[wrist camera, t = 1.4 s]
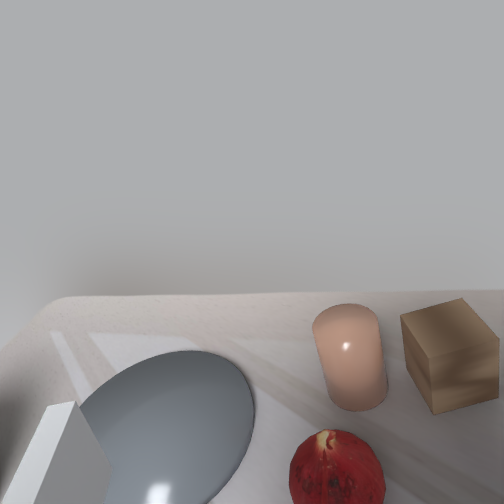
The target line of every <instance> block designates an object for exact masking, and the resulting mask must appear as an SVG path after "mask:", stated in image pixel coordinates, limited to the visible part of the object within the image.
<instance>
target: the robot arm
mask: <svg viewBox="0 0 504 504" xmlns="http://www.w3.org/2000/svg"><path fill="white" fill-rule="evenodd" d="M111 473H112V467H111V465H110V463H109V461H108V459H107V458H106V456H105V454H104V452H103V450H102V448H101V447H100V445H99V443H98V441H97V439H96V437H95V436H94V434H93V432H92V430H91V428H90V426H89V424H88V423H87V421H86V419H85V417H84V415H83V413H82V412H81V410H80V408H79V406H78V404H77V402H76V401H72V402H66V403H61V404H56V405H51V406H47V409H46V411H45V413H44V415H43V417H42V419H41V421H40V423H39V425H38V427H37V430H36V432H35V434H34V436H33V438H32V440H31V442H30V444H29V446H28V448H27V450H26V453H25V455H24V457H23V459H22V461H21V463H20V465H19V467H18V469H17V471H16V474H15V476H14V478H13V480H12V482H11V484H10V486H9V488H8V490H7V492H6V494H5V497H4V499H3V501H2V503H1V504H103V503H104V499H105V495H106V491H107V488H108V484H109V480H110V476H111Z"/></svg>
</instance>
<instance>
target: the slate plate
mask: <svg viewBox="0 0 504 504" xmlns="http://www.w3.org/2000/svg"><path fill="white" fill-rule="evenodd" d="M79 408H80V410H81V412H82V413H83V415H84V417H85V419H86V421H87V423H88V424H89V426H90V428H91V430H92V432H93V434H94V436H95V437H96V439H97V441H98V443H99V445H100V447H101V448H102V450H103V452H104V454H105V456H106V458H107V459H108V461H109V463H110V465H111V467H112V473H111V476H110V480H109V484H108V488H107V491H106V495H105V499H104V503H103V504H207V503H208V502H209V501H210V500H211V499H212V498H213V497H215V496H216V495H217V494H218V493H219V492H220V490H221V489H222V488H223V487H224V486H225V484H226V483H227V482H228V481H229V480H230V478H231V477H232V475H233V474H234V472H235V471H236V469H237V468H238V466H239V465H240V463H241V461H242V459H243V457H244V455H245V453H246V450H247V448H248V445H249V443H250V440H251V436H252V431H253V426H254V404H253V400H252V395H251V393H250V390H249V387H248V385H247V383H246V380H245V378H244V377H243V375H242V374H241V372H240V371H239V370H238V369H237V368H236V367H235V366H234V365H233V364H232V363H230V362H229V361H227V360H226V359H224V358H222V357H220V356H217V355H214V354H211V353H207V352H202V351H178V352H171V353H166V354H162V355H158V356H155V357H152V358H149V359H146V360H144V361H141V362H139V363H137V364H135V365H133V366H131V367H129V368H127V369H125V370H123V371H122V372H120V373H118V374H117V375H115V376H114V377H112V378H111V379H110V380H108V381H107V382H105V383H104V384H103V385H102V386H101V387H99V388H98V389H97V390H96V391H95V392H94V393H93V394H91V395H90V396H89V397H88V398H87V399H86V400H85V401H84V403H83V404H82V405H81V406H80V407H79Z"/></svg>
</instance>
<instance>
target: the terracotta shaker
mask: <svg viewBox="0 0 504 504" xmlns="http://www.w3.org/2000/svg"><path fill="white" fill-rule="evenodd" d="M312 329H313V334H314V338H315V342H316V346H317V350H318V354H319V358H320V362H321V366H322V370H323V374H324V378H325V381H326V385H327V389H328V393H329V396H330V398H331V400H332V401H333V402H334V403H335V404H336V405H337V406H339V407H340V408H343V409H345V410H349V411H365V410H369V409H372V408H374V407H376V406H377V405H379V404H380V403H381V402H382V401H383V400H384V398H385V397H386V395H387V392H388V382H387V376H386V370H385V363H384V357H383V351H382V344H381V338H380V331H379V325H378V319H377V317H376V315H375V313H374V312H373V311H372V310H370V309H369V308H367V307H365V306H362V305H358V304H340V305H336V306H333V307H330V308H328V309H326V310H324V311H323V312H322V313H320V314H319V315H318V316H317V317H316V319H315V321H314V323H313V327H312Z"/></svg>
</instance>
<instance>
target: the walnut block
mask: <svg viewBox="0 0 504 504" xmlns="http://www.w3.org/2000/svg"><path fill="white" fill-rule="evenodd" d="M400 319H401V327H402V335H403V343H404V351H405V359H406V367H407V370H408V372H409V374H410V375H411V377H412V379H413V381H414V382H415V384H416V386H417V387H418V389H419V391H420V393H421V394H422V396H423V398H424V400H425V401H426V403H427V405H428V406H429V408H430V410H431V412H432V413H433V415H436V414H440V413H444V412H447V411H451V410H455V409H459V408H462V407H466V406H470V405H474V404H477V403H481V402H485V401H488V400H492V399H496V398H498V395H499V338H498V337H497V336H496V335H495V334H494V332H493V331H492V330H491V329H490V328H489V327H488V326H487V325H486V324H485V323H484V322H483V320H482V319H481V318H480V317H479V316H478V315H477V314H476V313H475V312H474V311H473V310H472V308H471V307H470V306H469V305H468V304H467V303H466V302H465V301H464V300H463V299H462V298H460V299H457V300H453V301H449V302H446V303H442V304H438V305H435V306H431V307H428V308H424V309H420V310H417V311H413V312H409V313H406V314H402V315H400Z"/></svg>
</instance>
